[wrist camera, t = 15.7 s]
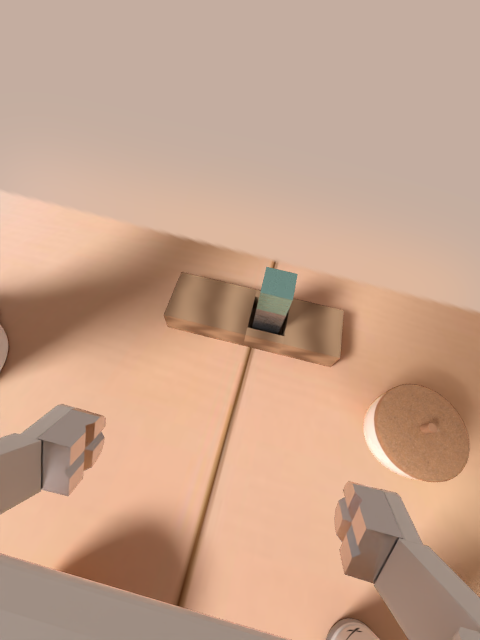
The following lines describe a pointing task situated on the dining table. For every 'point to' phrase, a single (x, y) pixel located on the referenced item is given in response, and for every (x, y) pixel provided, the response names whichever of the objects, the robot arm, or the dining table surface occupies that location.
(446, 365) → the dining table surface
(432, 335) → the dining table surface
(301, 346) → the wooden peg hole block
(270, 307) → the teal square peg
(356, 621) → the travel mug
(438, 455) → the lidded jar
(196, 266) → the dining table surface
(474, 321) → the dining table surface
